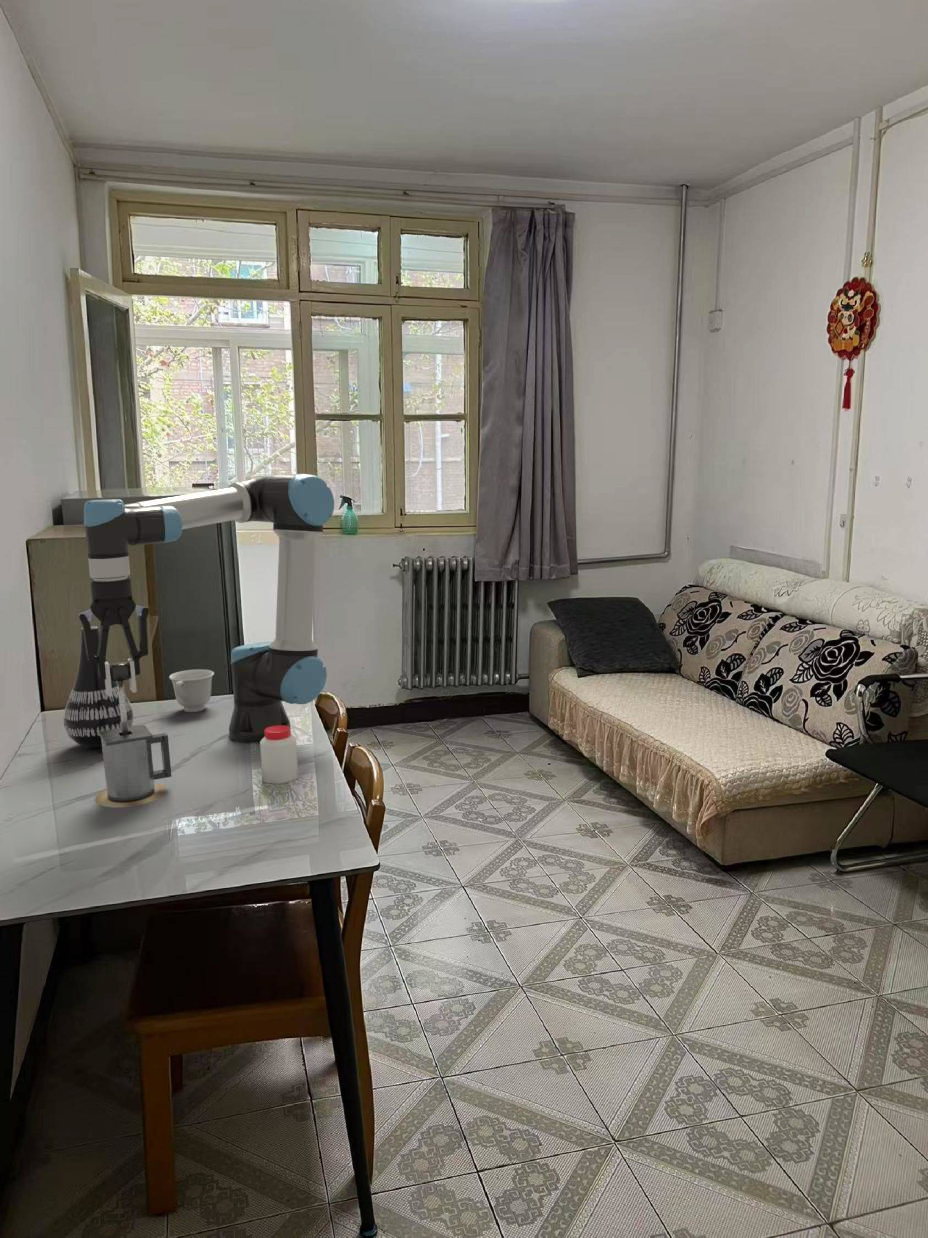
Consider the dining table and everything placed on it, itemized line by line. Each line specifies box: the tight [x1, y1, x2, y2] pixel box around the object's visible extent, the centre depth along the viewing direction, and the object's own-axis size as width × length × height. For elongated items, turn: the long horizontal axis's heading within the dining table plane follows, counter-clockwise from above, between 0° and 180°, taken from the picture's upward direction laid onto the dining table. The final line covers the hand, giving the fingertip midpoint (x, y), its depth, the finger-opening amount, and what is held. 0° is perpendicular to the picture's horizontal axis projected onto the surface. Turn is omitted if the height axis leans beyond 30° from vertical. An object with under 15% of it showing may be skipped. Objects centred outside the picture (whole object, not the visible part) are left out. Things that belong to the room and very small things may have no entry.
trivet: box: [94, 782, 168, 808], centre depth 191 cm, size 14×14×1 cm
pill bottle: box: [259, 725, 299, 785], centre depth 200 cm, size 8×8×11 cm
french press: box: [99, 724, 172, 803], centre depth 190 cm, size 13×9×13 cm
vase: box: [63, 625, 134, 751], centre depth 224 cm, size 16×16×30 cm
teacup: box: [168, 668, 215, 713], centre depth 254 cm, size 12×15×10 cm
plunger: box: [109, 661, 131, 735], centre depth 187 cm, size 7×7×19 cm
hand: (121, 692), depth 187 cm, fingers closed on plunger, 4 cm apart
